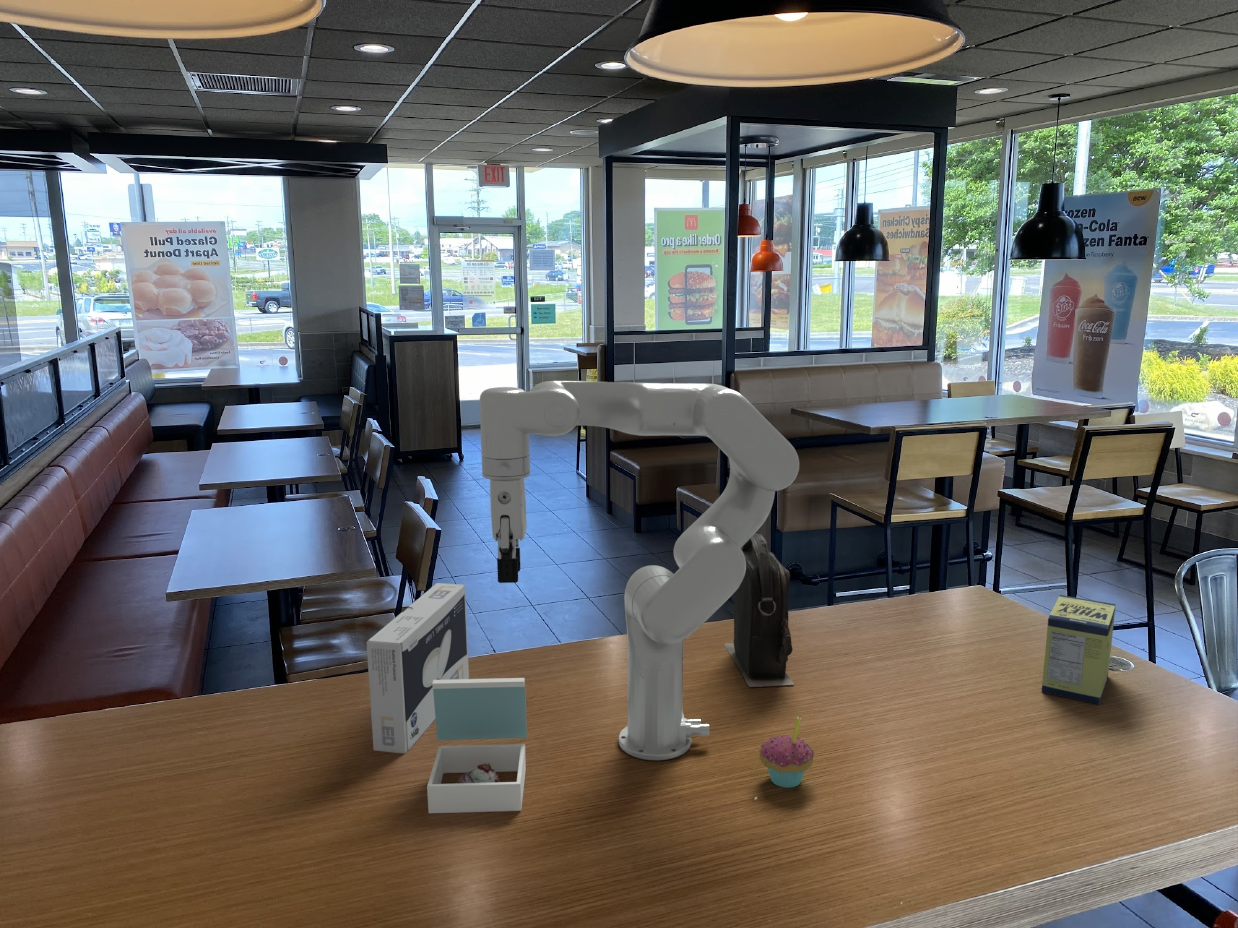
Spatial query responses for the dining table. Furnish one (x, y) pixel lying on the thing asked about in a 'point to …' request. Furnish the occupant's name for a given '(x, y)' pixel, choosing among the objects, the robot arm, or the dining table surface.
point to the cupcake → (786, 758)
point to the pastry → (480, 775)
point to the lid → (480, 708)
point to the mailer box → (476, 794)
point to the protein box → (1078, 649)
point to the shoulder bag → (762, 618)
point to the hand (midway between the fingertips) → (509, 575)
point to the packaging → (415, 665)
